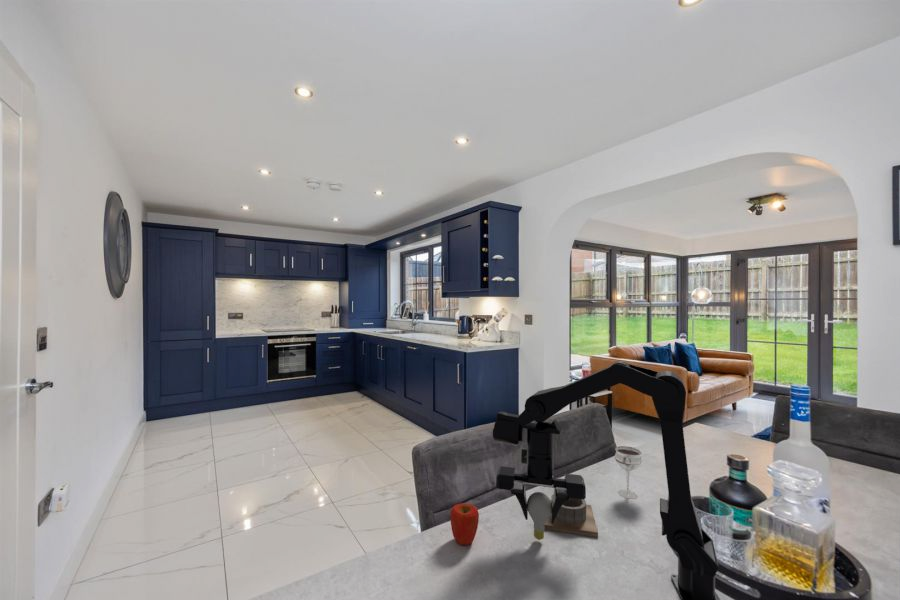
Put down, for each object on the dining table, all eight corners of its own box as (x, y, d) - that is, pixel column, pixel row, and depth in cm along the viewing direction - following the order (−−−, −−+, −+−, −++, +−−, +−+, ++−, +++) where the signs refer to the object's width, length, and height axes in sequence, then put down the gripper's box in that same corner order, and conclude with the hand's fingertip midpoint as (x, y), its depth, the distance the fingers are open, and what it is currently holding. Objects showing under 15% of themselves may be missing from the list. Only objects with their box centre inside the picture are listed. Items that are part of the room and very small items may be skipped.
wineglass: (634, 503, 100) (634, 457, 101) (609, 492, 106) (610, 449, 106) (645, 495, 105) (646, 451, 105) (621, 485, 110) (622, 444, 110)
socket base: (598, 537, 85) (598, 517, 85) (543, 528, 88) (543, 509, 88) (590, 509, 97) (591, 491, 97) (542, 502, 100) (543, 485, 100)
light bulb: (552, 548, 80) (553, 501, 80) (526, 544, 81) (527, 498, 81) (551, 533, 86) (551, 489, 86) (526, 530, 87) (527, 486, 87)
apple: (471, 529, 87) (471, 497, 87) (483, 546, 82) (483, 511, 82) (445, 535, 85) (446, 501, 85) (456, 552, 79) (456, 516, 79)
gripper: (580, 441, 89) (579, 507, 89) (501, 433, 94) (500, 497, 93) (586, 459, 79) (585, 535, 78) (496, 450, 83) (495, 522, 83)
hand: (539, 520), depth 84 cm, fingers closed on light bulb, 5 cm apart
